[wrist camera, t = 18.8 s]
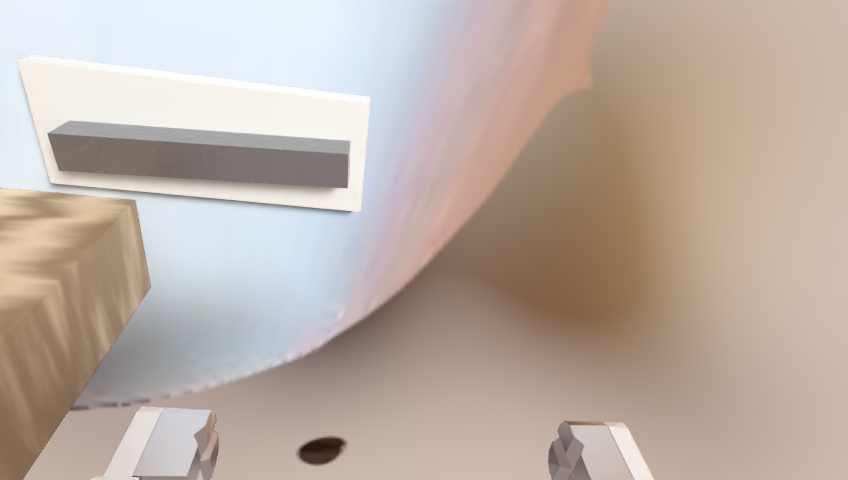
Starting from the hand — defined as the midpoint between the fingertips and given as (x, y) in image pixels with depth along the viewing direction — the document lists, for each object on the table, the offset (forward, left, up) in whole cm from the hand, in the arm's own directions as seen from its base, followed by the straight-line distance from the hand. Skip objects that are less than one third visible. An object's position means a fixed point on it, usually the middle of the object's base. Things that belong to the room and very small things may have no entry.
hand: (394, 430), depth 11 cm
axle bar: (-9, -12, -32) cm, 35 cm away
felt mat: (-10, -12, -34) cm, 37 cm away
